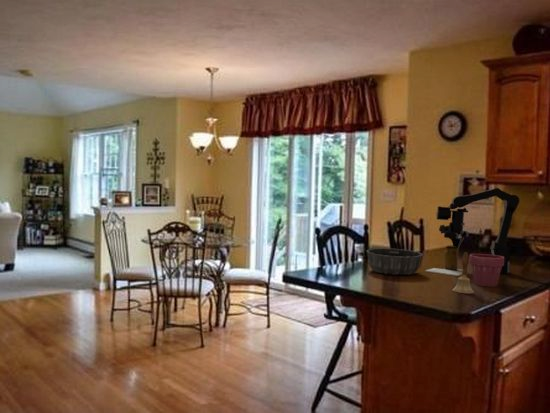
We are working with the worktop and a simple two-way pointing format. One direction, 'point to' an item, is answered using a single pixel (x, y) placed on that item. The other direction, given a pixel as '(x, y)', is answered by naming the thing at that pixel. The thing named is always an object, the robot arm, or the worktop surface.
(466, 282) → the hand bell
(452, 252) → the condiment
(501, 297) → the worktop surface
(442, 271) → the mat
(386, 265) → the bundt pan
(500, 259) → the plant pot
